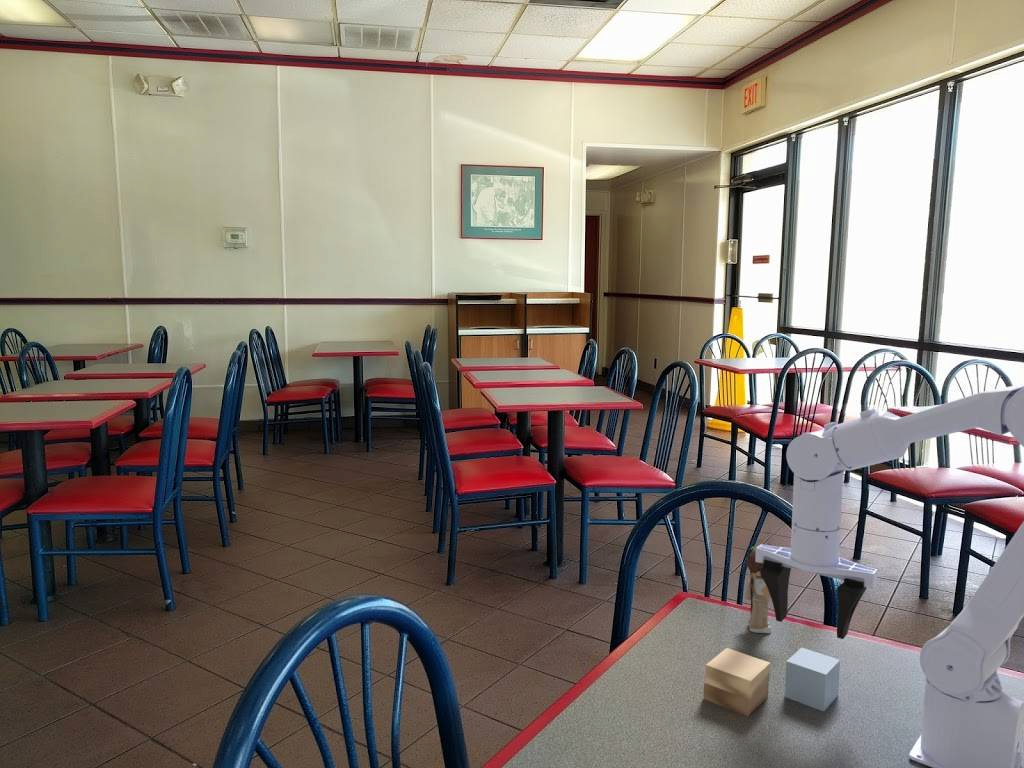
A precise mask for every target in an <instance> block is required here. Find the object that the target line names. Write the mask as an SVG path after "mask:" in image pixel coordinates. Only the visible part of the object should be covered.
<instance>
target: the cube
mask: <svg viewBox="0 0 1024 768" xmlns="http://www.w3.org/2000/svg"><path fill="white" fill-rule="evenodd" d="M785 665H786V666H785V668H786V669H785V683H784V698H787V699H788V700H791V701H795V702H798V703H799V704H802V705H805V706H807V707H811V708H813V709H815V710H816V709H817V710H818V711H820V712H825V711H826V710H827V709H828V708H829V706H830V705H831V704H832V703H833V702H834V701H835V700H836V699H837V698H838V696H839V686H840V685H839V684H840V683H839V682H840V670H841V669H840V667H841V660H840V659H839V658H835V657H833V656H829V655H826V654H823V653H821V652H816V651H813V650H812V649H811V650H810V649H808V648H806V647H805V648H804V647H800V648H799V649H798V650H797V651H796V652H794V653H793V655H792V656H790V657H789V659H787V660H786V664H785Z"/></svg>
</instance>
